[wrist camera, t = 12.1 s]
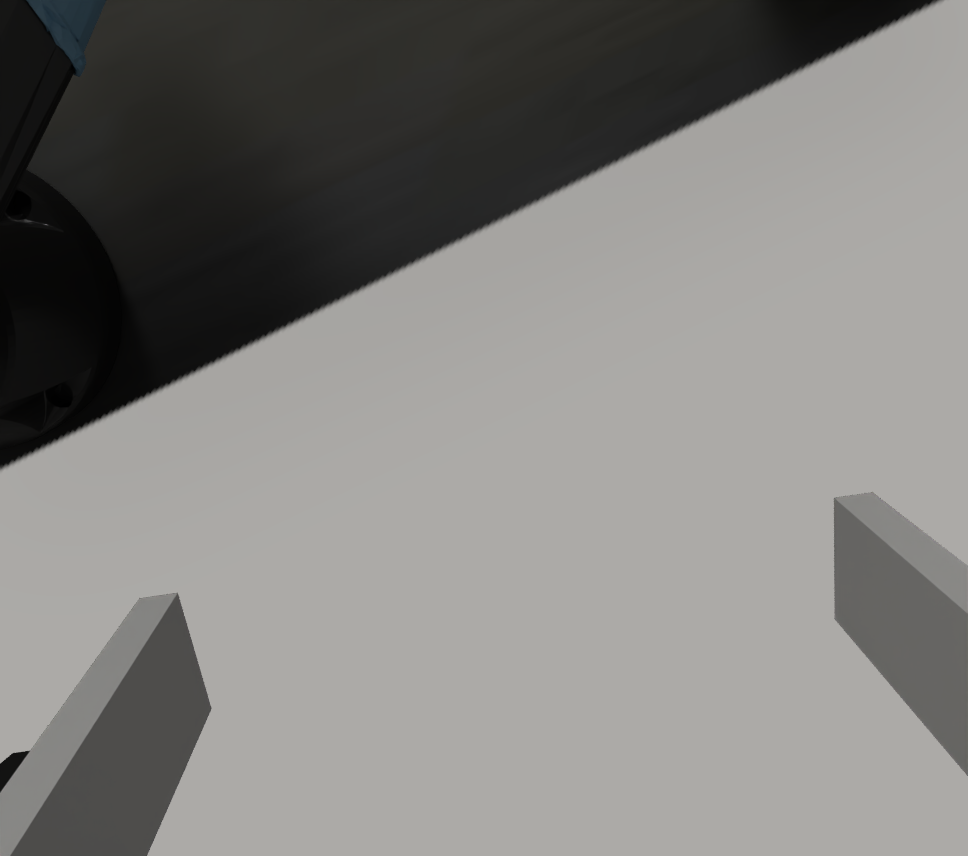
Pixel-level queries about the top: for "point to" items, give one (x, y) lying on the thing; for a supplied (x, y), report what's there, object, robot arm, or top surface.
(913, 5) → the top surface
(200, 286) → the top surface
